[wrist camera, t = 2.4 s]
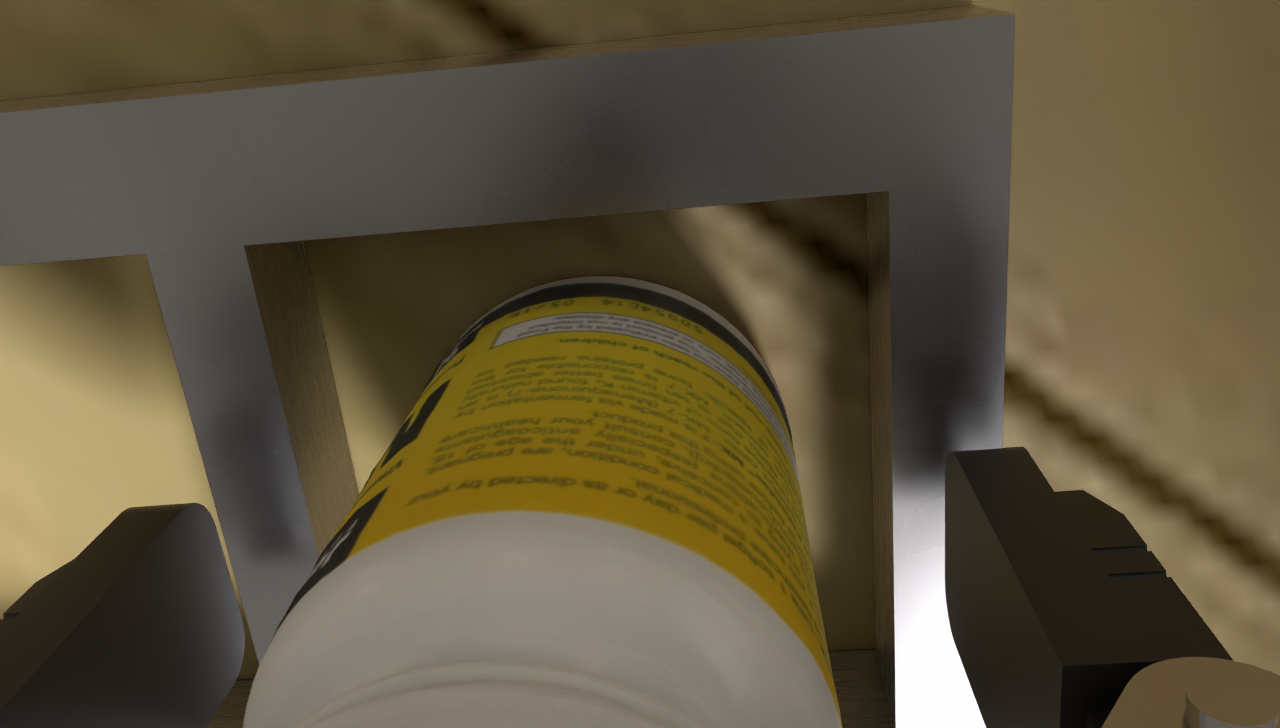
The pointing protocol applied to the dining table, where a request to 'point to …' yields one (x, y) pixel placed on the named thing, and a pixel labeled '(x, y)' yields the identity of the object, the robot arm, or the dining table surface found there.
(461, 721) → the supplement bottle
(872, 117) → the grey flat rectangular frame
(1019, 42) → the dining table surface
